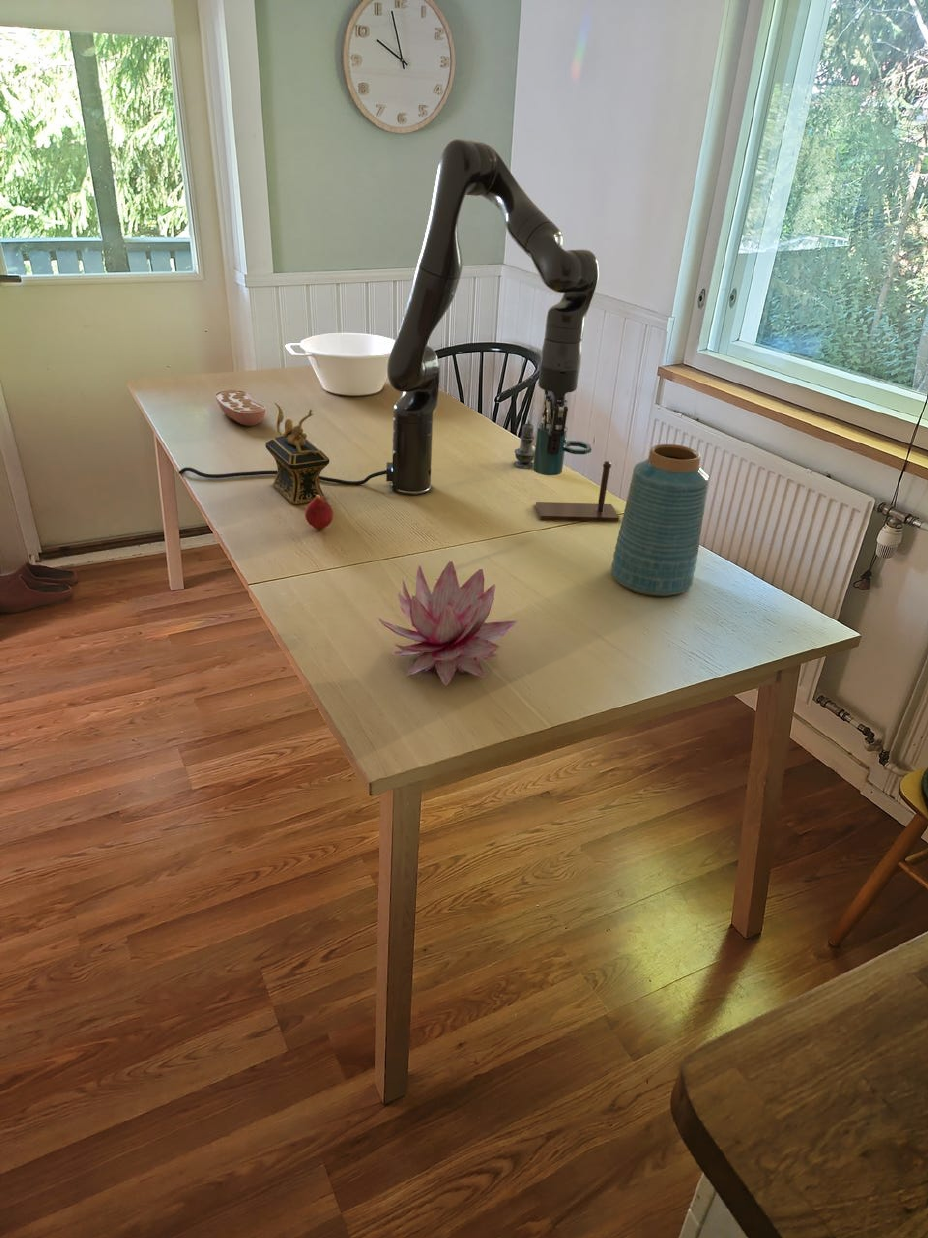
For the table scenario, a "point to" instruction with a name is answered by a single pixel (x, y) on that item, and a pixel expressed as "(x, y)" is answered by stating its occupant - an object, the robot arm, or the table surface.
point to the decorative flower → (450, 624)
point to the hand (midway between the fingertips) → (550, 447)
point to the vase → (662, 522)
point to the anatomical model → (240, 407)
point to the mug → (553, 462)
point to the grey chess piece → (525, 448)
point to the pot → (348, 361)
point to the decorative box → (296, 462)
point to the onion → (319, 513)
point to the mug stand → (581, 506)
